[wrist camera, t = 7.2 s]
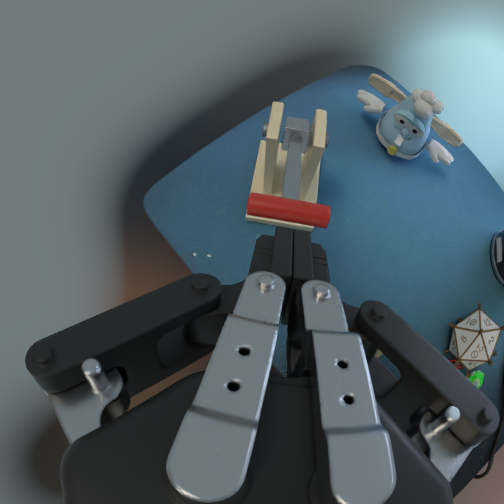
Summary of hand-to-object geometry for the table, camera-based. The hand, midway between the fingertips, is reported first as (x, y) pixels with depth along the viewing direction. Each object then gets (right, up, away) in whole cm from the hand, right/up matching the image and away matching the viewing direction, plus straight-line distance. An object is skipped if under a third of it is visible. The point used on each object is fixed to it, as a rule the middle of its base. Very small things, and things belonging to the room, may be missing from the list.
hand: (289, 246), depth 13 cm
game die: (+27, -12, +18) cm, 34 cm away
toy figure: (+19, +16, +24) cm, 35 cm away
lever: (+1, +6, +10) cm, 11 cm away
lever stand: (+3, +8, +23) cm, 24 cm away
